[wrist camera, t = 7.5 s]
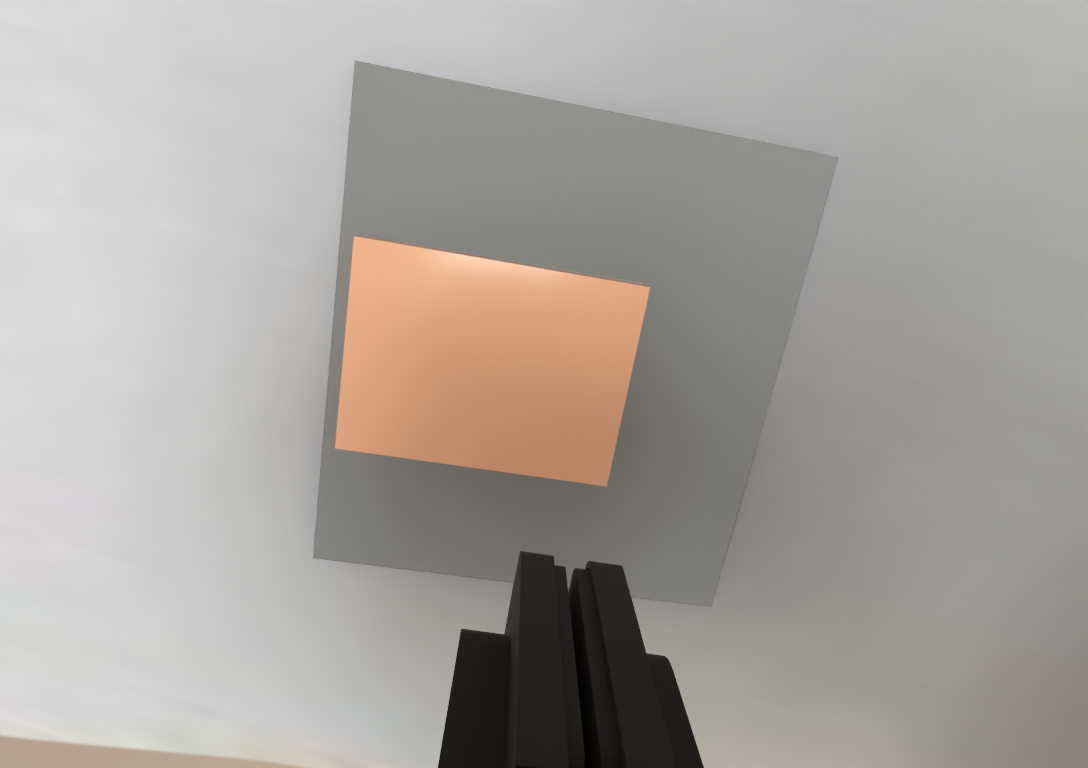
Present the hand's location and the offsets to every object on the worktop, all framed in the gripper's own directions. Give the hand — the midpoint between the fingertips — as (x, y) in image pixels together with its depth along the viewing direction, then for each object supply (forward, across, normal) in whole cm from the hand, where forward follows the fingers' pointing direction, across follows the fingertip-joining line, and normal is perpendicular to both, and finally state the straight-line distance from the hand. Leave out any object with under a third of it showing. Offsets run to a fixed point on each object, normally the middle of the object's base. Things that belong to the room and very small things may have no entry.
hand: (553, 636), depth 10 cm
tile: (+17, -4, 0) cm, 18 cm away
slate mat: (+19, -1, 0) cm, 19 cm away
